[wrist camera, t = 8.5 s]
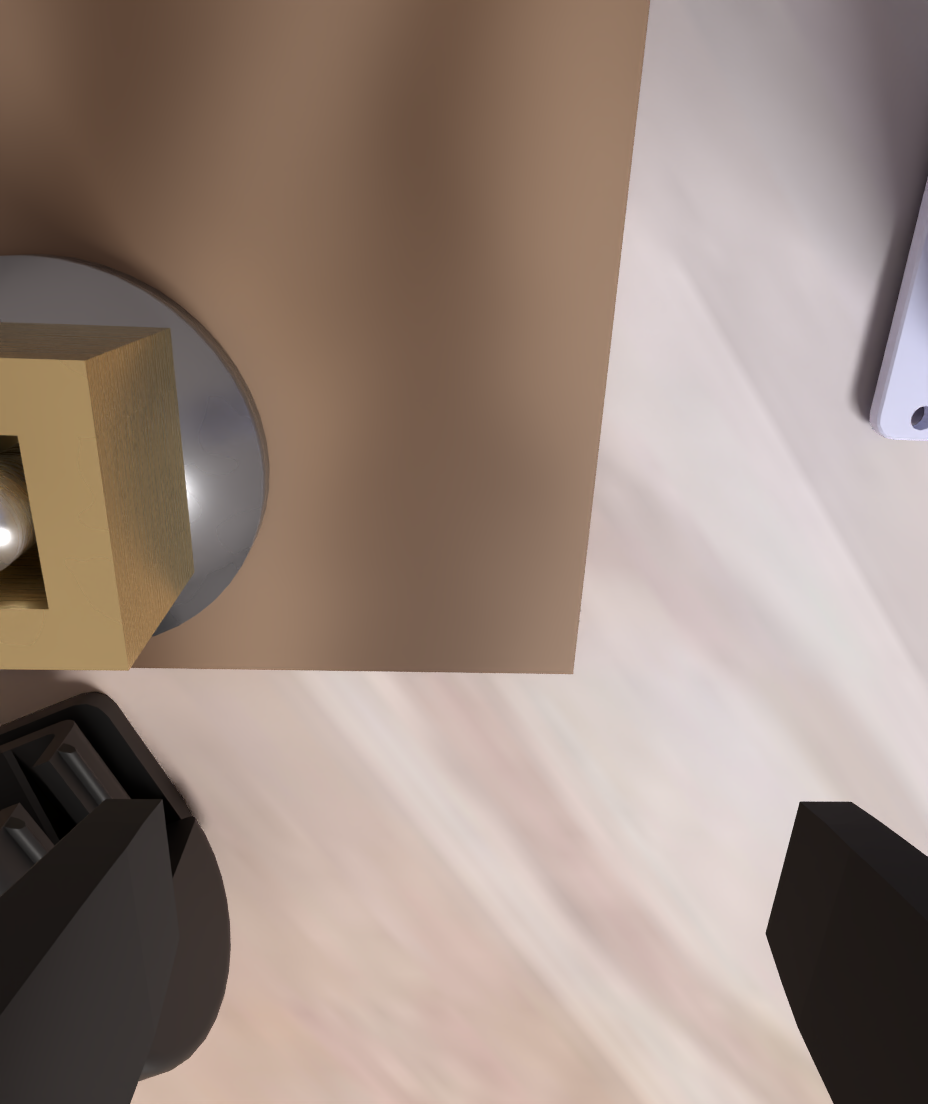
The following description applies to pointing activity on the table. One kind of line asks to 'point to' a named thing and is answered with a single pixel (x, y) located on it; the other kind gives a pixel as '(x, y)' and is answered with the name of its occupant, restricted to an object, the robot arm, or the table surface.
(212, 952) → the end cap
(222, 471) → the stand
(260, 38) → the board
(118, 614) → the collar
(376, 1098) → the table surface
